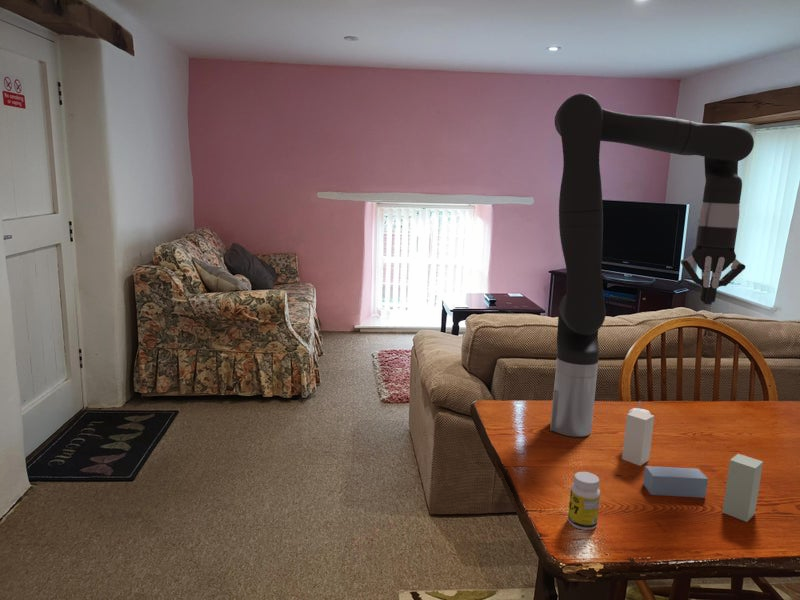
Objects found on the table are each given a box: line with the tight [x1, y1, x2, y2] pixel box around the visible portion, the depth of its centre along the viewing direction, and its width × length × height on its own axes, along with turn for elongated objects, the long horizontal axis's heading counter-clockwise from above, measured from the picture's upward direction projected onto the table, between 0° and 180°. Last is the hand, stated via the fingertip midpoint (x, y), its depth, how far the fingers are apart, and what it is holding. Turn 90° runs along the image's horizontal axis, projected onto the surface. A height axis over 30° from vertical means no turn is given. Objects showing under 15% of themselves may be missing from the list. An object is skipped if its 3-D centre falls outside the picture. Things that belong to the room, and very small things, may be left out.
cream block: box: [621, 410, 655, 467], centre depth 124 cm, size 4×4×10 cm
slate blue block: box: [642, 465, 709, 499], centre depth 112 cm, size 4×4×10 cm
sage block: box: [721, 453, 764, 523], centre depth 104 cm, size 4×4×10 cm
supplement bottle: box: [567, 471, 601, 531], centre depth 99 cm, size 5×5×8 cm
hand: (706, 304), depth 130 cm, fingers closed
